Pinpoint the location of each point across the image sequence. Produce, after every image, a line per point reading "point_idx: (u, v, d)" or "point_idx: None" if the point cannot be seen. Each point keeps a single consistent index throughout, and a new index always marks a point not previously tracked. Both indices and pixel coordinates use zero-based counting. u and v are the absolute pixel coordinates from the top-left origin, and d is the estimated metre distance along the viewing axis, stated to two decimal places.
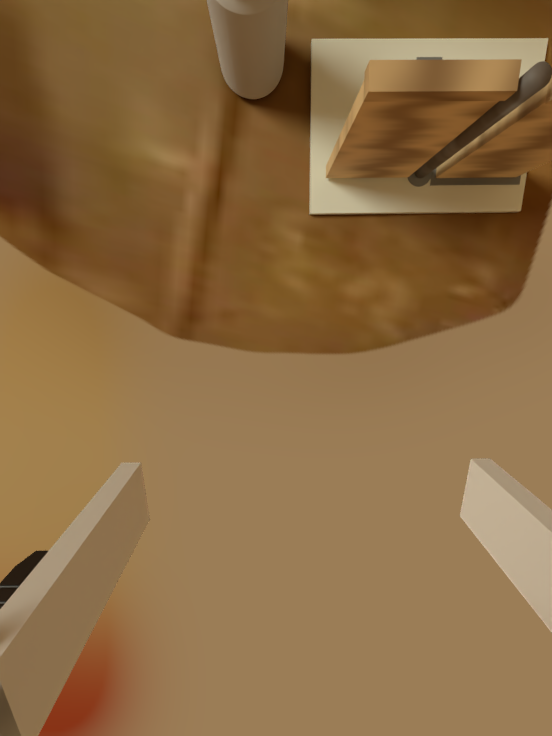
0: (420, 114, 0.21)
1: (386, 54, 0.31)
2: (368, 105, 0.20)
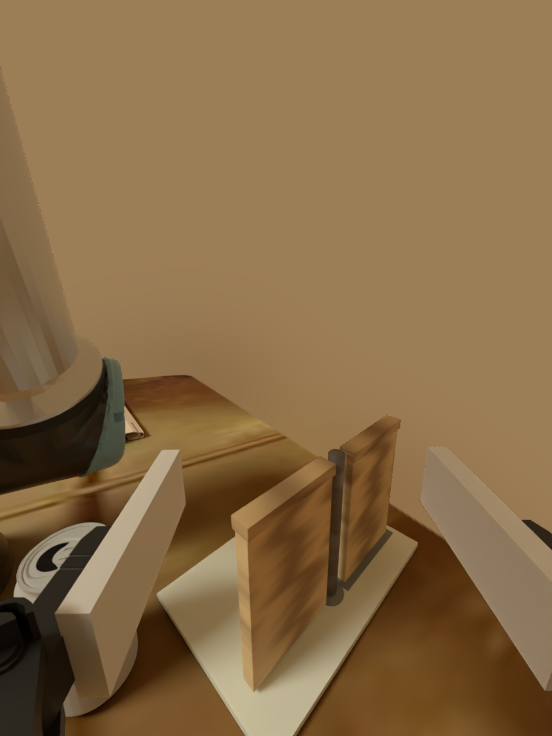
0: (295, 524, 0.22)
1: (227, 553, 0.34)
2: (253, 545, 0.19)
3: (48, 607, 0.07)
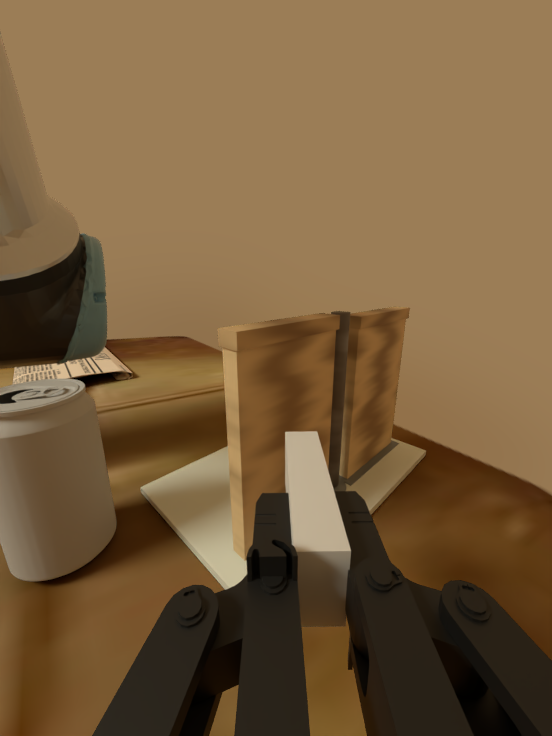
0: (293, 367, 0.19)
1: (219, 458, 0.32)
2: (244, 362, 0.16)
3: None
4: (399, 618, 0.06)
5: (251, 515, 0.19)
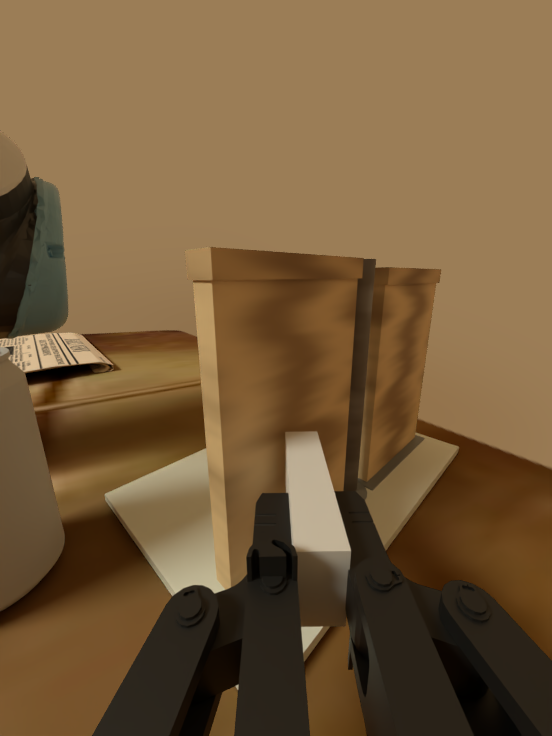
0: (300, 323, 0.14)
1: None
2: (224, 302, 0.11)
3: None
4: (399, 618, 0.06)
5: (240, 533, 0.14)
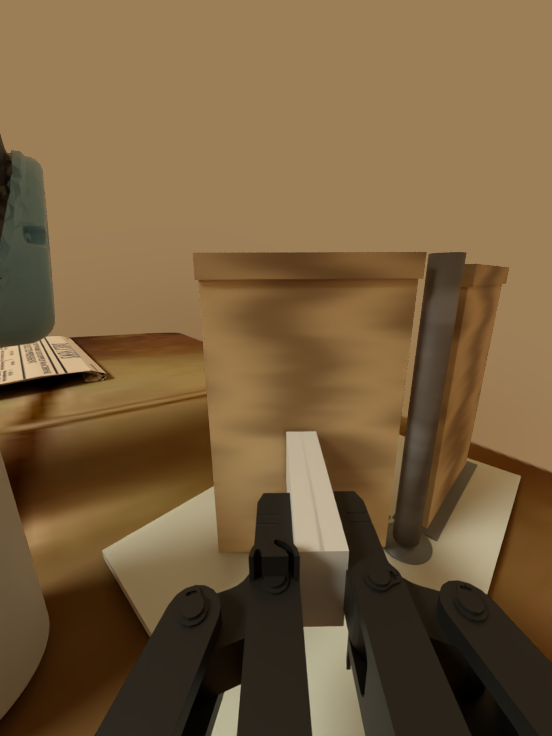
0: (308, 325, 0.13)
1: None
2: (211, 298, 0.13)
3: None
4: (397, 618, 0.06)
5: (228, 502, 0.15)
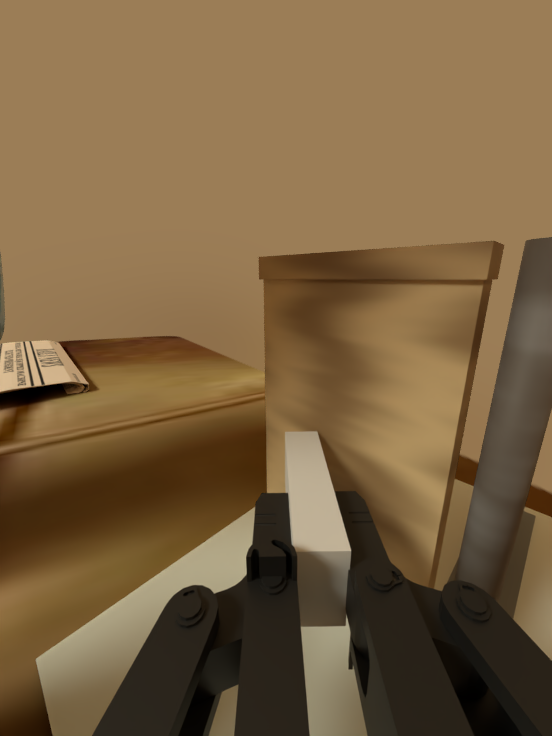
0: (342, 329, 0.12)
1: (214, 558, 0.16)
2: (271, 295, 0.15)
3: None
4: (399, 618, 0.06)
5: (274, 478, 0.17)
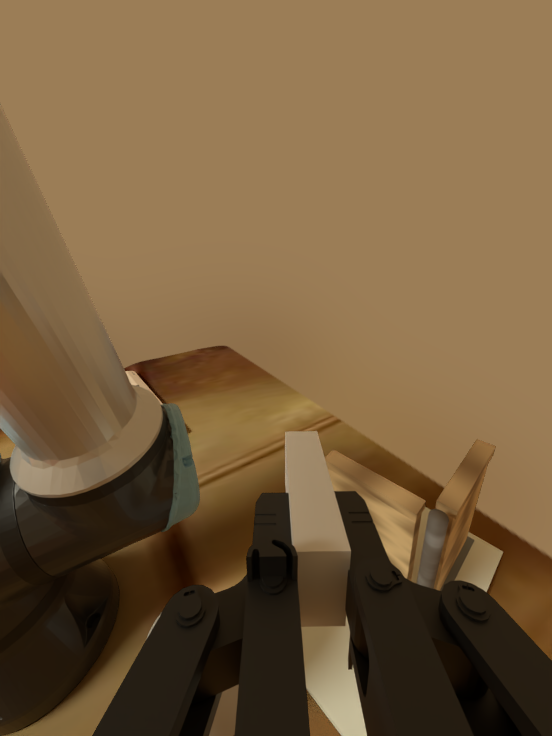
0: None
1: None
2: (330, 472, 0.31)
3: None
4: (399, 618, 0.06)
5: None
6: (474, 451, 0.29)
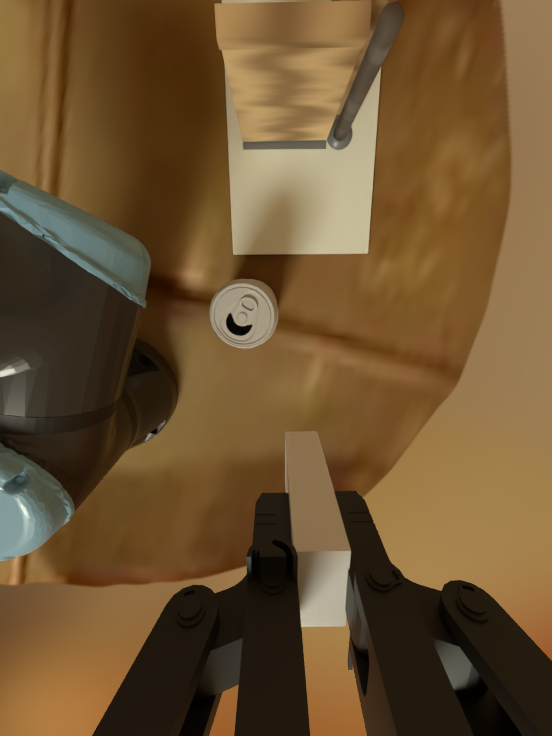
0: (290, 64, 0.21)
1: (241, 181, 0.34)
2: (230, 54, 0.20)
3: None
4: (399, 618, 0.06)
5: (246, 127, 0.30)
6: None
